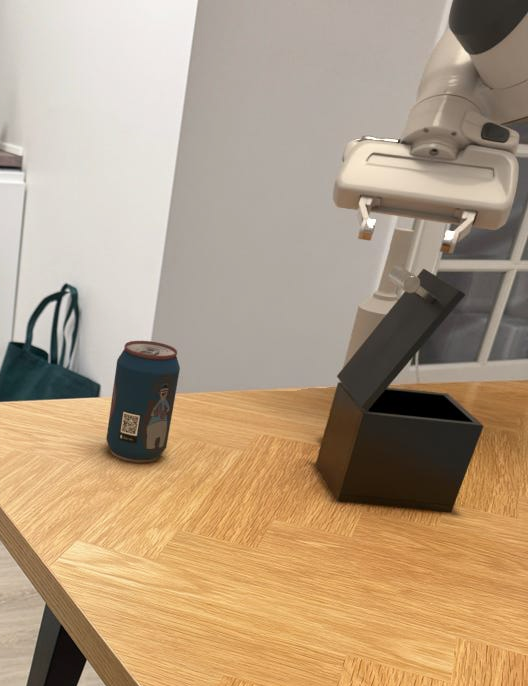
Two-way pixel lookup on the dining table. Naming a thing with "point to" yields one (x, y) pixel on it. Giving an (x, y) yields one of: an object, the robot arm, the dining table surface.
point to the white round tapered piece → (379, 294)
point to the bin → (398, 449)
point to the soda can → (142, 401)
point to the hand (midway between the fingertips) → (405, 242)
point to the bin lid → (399, 334)
